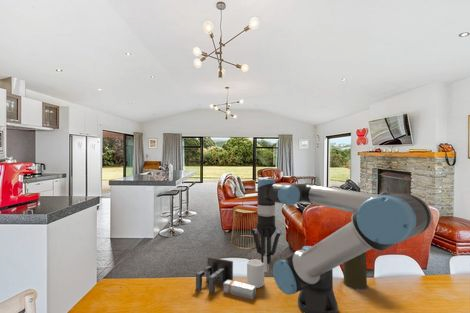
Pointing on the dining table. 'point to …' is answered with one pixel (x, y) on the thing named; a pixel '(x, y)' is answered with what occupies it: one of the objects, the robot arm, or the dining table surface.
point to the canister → (356, 272)
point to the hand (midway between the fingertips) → (266, 270)
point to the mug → (255, 273)
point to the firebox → (215, 273)
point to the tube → (239, 289)
